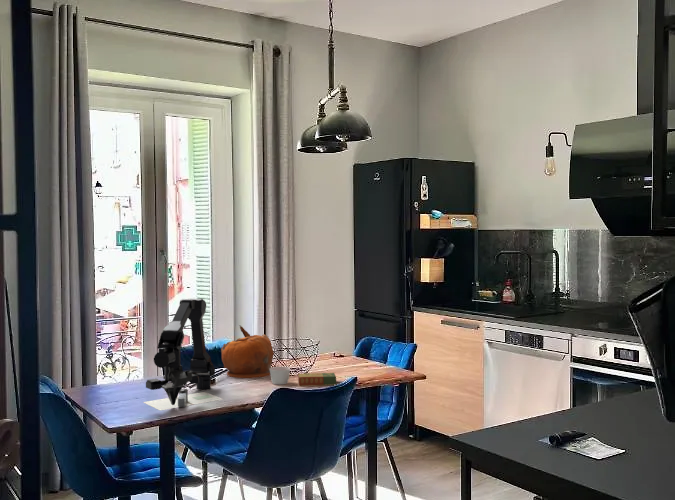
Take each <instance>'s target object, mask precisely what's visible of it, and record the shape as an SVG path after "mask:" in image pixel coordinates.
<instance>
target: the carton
mask: <svg viewBox="0 0 675 500" xmlns="http://www.w3.org/2000/svg"><path fill="white" fill-rule="evenodd" d="M297 375H298V376H297V382H298V387H310V386H311V387H313V386H314V387H315V386H317V387H318V386H335V385H334V384H336V385H337V376H336V374H335V372H323V373H322V372H317V373H316V372H315V373H311V372H310V373H298V374H297Z"/></svg>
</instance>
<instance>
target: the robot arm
mask: <svg viewBox="0 0 675 500" xmlns="http://www.w3.org/2000/svg"><path fill="white" fill-rule="evenodd" d="M206 310H207V302H206V300H205V299H204V298H182V299H180V301H179V306H178V308H177V310H176V312H175V314H174V316H173V319H172V320H171V322H170V323H168V324H167V325H165V327H164V328H163V330H162V331H161V333H160V337H159V339H158V344H157V349H158V352H157V353H155V354H154V357H153V363H154V365H155V366H156V367H158V368H160V369H164V375H162V376H163V378H162V379H163V380H161V379H158V378H152V379H147V380H146V382H145V388H147V389H149V390H151V391H152V390H153V391H154V390H156V391H157V390H161V389H163V390H164V392H165V393H166V395H167V396H168V397H167V398H169V400H170V402H171V404H172V405H175V402H176V399H177V396H179V391H180V390H181V389H184V388H185V387H186V386H187V385H188V383H190V384H192V385H196V389H197V390H199V391H200V390H203V391H207V390H211V377H214V376H216V375H215V374H216V368H215V366H214V364H213V362H212V359H211V355H209V353H208V352H207V349H206V342H205V330H204V321H203V317H204V316H205V313H206ZM188 320H189V321H190V327H191V328H190V329H191V335H192V336H191V337H192V346H193V356H192V358H191V359H190V366H189V367H190V370H185V371H184V370H183V365H181V349H182V348H183V347H182V344H183V342H184V339H185V334H184V333H185V332H184V329H185V328H184V327H185V326H186V323H187V321H188Z"/></svg>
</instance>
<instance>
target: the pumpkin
mask: <svg viewBox="0 0 675 500" xmlns="http://www.w3.org/2000/svg"><path fill="white" fill-rule="evenodd" d="M238 326H239V329H240V331H241V332H242V335H243V337H239V338H237V339H236V340H231V341H227V342H226V343H224V344H223V345H222V347H221V349H220V353H221V362H222V364H223V368H224V369H226V370H228V371H227V372H226V374H227V375H226V376H228V377H231V378H234V379H235V378H236V379H237V378H238V379H256V378H258V379H260V378H264V377H269V376H271V375H270V370H269V369H270V368H272V364H273V359H274V354H275V352H274V350H273V346H272V341H271V339H270V338H269V337H268V336H267V335H266V334H262V335H261V334H260V335H259V334H254V335H251V334H250V333H249V332H248V331H247V330H246V329H245V328H244V327H243V326H242V325H239V324H238Z"/></svg>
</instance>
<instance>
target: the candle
mask: <svg viewBox="0 0 675 500" xmlns="http://www.w3.org/2000/svg"><path fill="white" fill-rule="evenodd" d="M269 370H270V375H269V376H270V379H271V384H273V385H287V384H288V383H289V378H290V371H291V368H290V367H288V366H274V367H272V366H271V368H270V369H269Z"/></svg>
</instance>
